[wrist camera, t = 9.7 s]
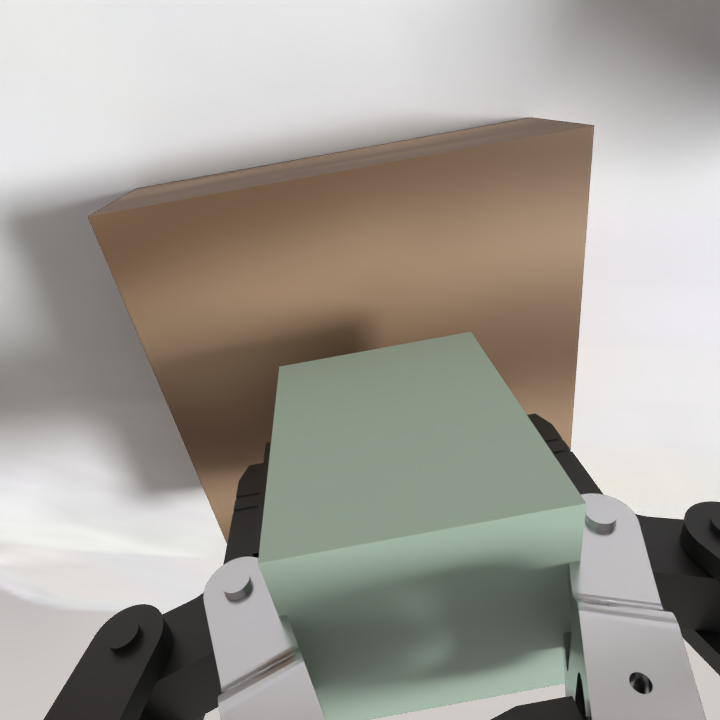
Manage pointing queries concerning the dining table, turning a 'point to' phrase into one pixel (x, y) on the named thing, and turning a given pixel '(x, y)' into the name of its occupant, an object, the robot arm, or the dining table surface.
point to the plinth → (354, 274)
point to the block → (416, 530)
